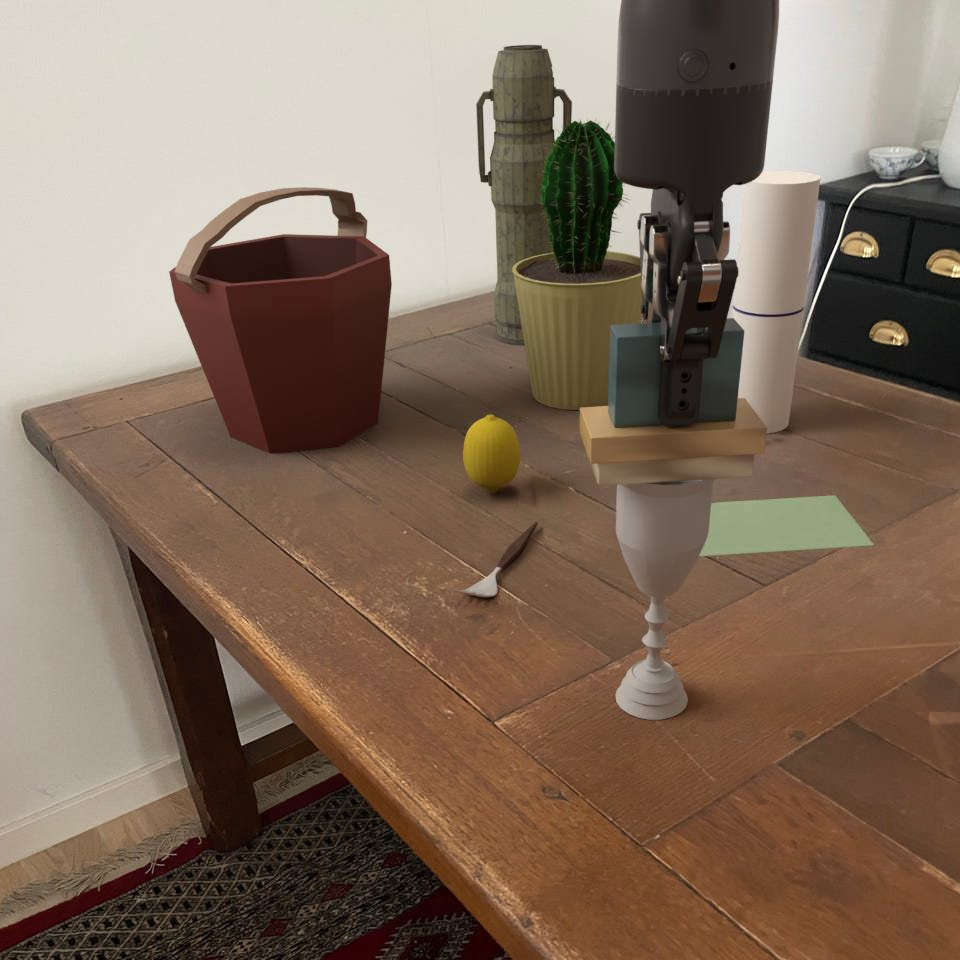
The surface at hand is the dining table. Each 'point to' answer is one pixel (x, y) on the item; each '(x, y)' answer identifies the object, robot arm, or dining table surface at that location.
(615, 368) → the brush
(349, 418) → the bucket
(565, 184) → the potted cactus
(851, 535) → the mat
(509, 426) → the lemon
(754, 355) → the cylindrical container
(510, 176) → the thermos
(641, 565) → the chalice
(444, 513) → the dining table surface
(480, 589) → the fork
